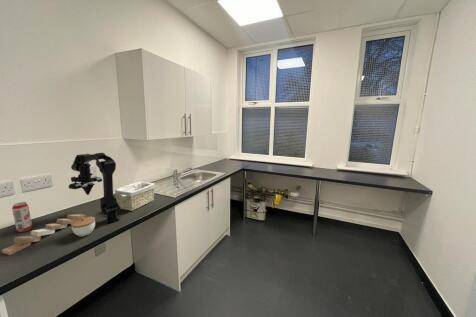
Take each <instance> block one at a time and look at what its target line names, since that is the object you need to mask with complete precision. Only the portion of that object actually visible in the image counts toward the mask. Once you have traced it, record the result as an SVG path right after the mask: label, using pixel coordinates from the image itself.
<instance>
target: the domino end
mask: <svg viewBox="0 0 476 317" xmlns="http://www.w3.org/2000/svg"><path fill="white" fill-rule="evenodd" d="M30 246H32V242H29V243H16V242H15V243H14V244H12V245H10V246H8V247H5V248H3V249H2V250H1V252H2V254H5V255H9V256H10V255H13V254H15V253H17V252H20V251H21V250H24V249H26V248H28V247H30Z"/></svg>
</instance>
